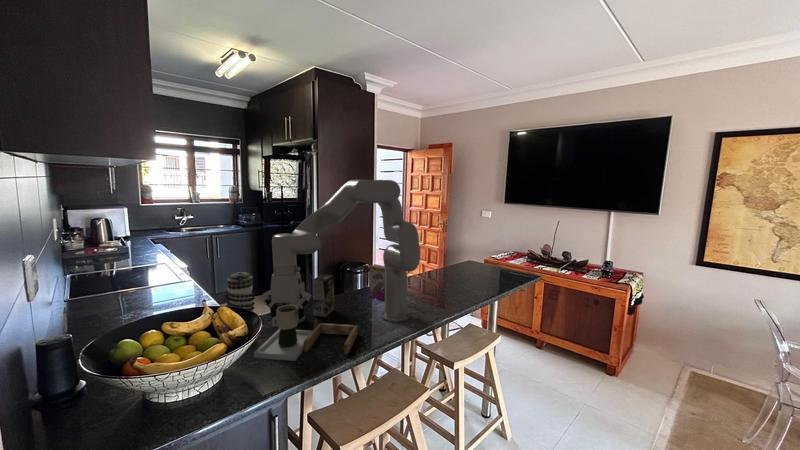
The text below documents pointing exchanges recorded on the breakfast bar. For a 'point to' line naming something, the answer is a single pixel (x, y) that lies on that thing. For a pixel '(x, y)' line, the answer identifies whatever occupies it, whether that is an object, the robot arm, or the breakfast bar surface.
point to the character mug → (286, 324)
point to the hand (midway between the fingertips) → (287, 317)
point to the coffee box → (323, 295)
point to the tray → (282, 347)
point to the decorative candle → (240, 291)
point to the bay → (333, 329)
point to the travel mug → (302, 298)
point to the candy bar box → (377, 282)
